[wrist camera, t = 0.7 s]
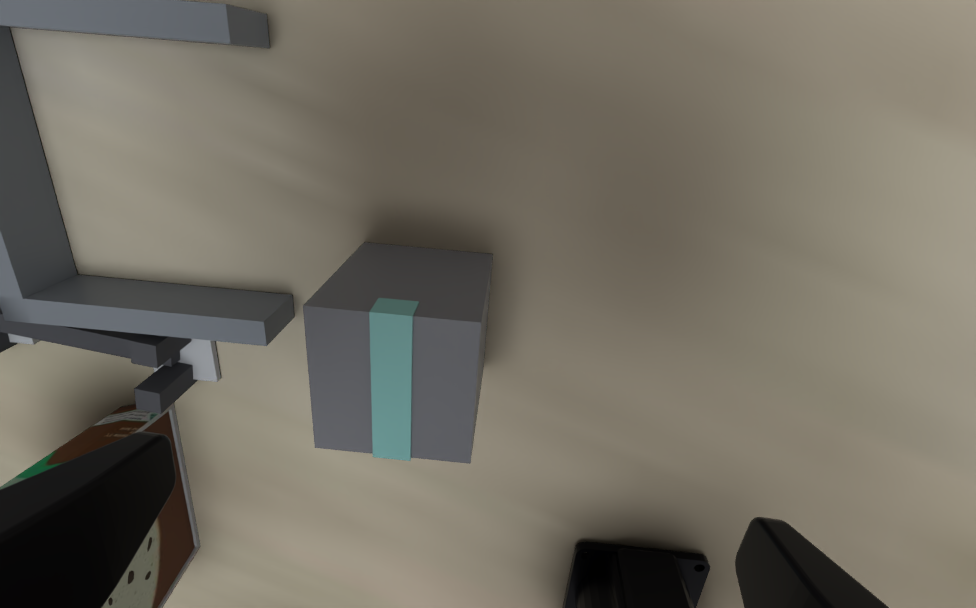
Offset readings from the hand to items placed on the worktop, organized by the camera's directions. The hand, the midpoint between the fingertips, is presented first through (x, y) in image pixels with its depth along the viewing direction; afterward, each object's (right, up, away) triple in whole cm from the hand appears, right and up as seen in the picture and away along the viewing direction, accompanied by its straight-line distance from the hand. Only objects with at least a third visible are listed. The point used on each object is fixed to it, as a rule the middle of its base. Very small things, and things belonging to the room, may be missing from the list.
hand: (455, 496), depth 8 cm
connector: (-2, +3, +13) cm, 13 cm away
